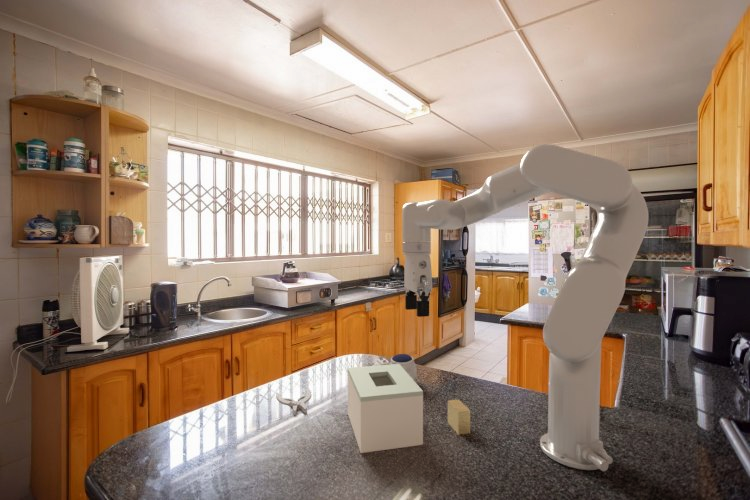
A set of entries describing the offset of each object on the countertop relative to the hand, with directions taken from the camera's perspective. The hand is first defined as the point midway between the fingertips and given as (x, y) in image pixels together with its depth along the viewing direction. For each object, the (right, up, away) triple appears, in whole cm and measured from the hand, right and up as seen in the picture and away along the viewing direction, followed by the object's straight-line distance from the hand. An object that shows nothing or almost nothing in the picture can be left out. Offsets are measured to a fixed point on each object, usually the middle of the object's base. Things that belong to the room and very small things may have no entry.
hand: (416, 312), depth 97 cm
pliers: (-33, -26, +4) cm, 43 cm away
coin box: (-10, -26, -10) cm, 29 cm away
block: (+9, -26, -10) cm, 29 cm away
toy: (-8, -26, +14) cm, 30 cm away
